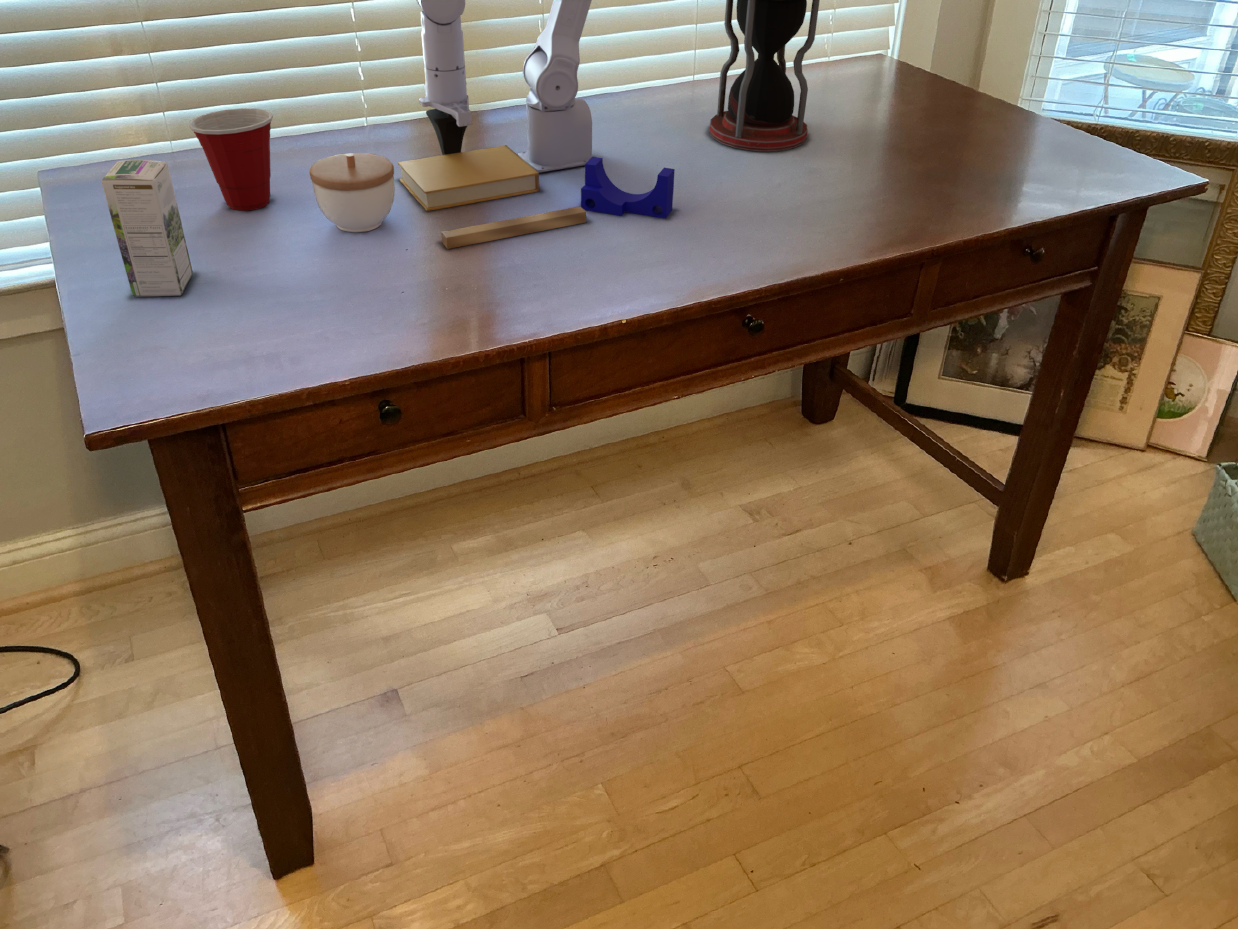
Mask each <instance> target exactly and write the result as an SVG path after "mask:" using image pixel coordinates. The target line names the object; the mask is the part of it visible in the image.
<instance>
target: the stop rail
mask: <svg viewBox="0 0 1238 929" xmlns="http://www.w3.org/2000/svg"><path fill="white" fill-rule="evenodd" d="M585 223H587V210H584V209H583V208H581V205H579V206H573V207H569V208H564V209H559V210H558V209H557V210H553V211H552V210H551V211H547V212H541V213H537V214H536V213H535V214H531V215H526V216H520V217H515V218H509V219H504V220H498V221H493V222H487V223H481V224H477V225H471V226H465V227H460V228H455V229H454V228H453V229H450V230H444V231H441V242H442V244H443V246H445V249H447V250H450V249H455V248H460V247H465V246H470V245H476V244H482V243H486V242H492V241H496V240H503V239H507V238H512V237H518V236H522V235H523V236H524V235H527V234H528V235H529V234H532V233H538V232H543V231H548V230H553V229H560V228H564V227H569V226H574V225H581V224H585Z"/></svg>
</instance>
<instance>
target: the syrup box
mask: <svg viewBox="0 0 1238 929" xmlns="http://www.w3.org/2000/svg"><path fill="white" fill-rule="evenodd" d="M100 181H101V185H102V189H103V193H104V195H105V200H106V201H105V202H106V204H107V207H108V211H109V215H110V219H111V223H112V226H113V230H114V232H115V237H116V241H117V244H118V248H119V252H120V255H121V259H122V263H123V266H124V270H125V273H126V277H127V282H128V284H129V288H130V292H131V296H133V297H171V296H172V297H173V296H182V295H183V294H184V292H185V290H186V287H187V286H188V284H189V282H190V280H191V278H192V277H193V276H194V275H193V274H194V271H193V267H192V263H191V257H190V253H189V250H188V249H189V248H188V245H187V242H186V237H185V231H184V227H183V224H182V219H181V215H180V210H179V205H178V202H177V198H176V194H175V188H174V185H173V180H172V176H171V171H170V167H169V163H168V162H166V161H160V160H151V159H125V160H118V161H116V162H115V164H114V165H112V167H111V168H110V170H109V171H108V172H107V173H106V174H105V176H104V177H103V178H102V179H101V180H100Z"/></svg>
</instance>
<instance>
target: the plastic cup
mask: <svg viewBox="0 0 1238 929" xmlns="http://www.w3.org/2000/svg"><path fill="white" fill-rule="evenodd" d="M273 116H274V113H273V112H272V111H270V110H268V109H263V108H255V107H254V108H251V107H250V108H249V107H241V108H230V109H229V108H228V109H223V110H217V111H211V112H209V113H205V114H201V115H198V116H196V117H194V118H192V119H191V120H190V121H189V123H188V124H187V126H188V128H189V129H190V130H191V131H192V132H193V133H194V135H195V137H196V139H197V140H198V142H199V145H200V146H201V148H202V150H203V152H204V155H205V157H206V159H207V162H208V164H209V167H210V169H211V172H212V173H213V177H214V179H215V181H216V183H217V185H218V187H219V189H220V192H221V194H222V197H223V200H224V202H225V203H226V205H227V206H228V207H229V209H232V210H234V211H242V212H243V211H244V212H245V211H255V210H259V209H262V208H264V207H266V206H268V204H270V201H271V200H270V199H271V176H272V175H271V174H272V173H271V171H272V170H271V124H272V121H273Z"/></svg>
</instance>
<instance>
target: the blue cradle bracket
mask: <svg viewBox="0 0 1238 929" xmlns="http://www.w3.org/2000/svg"><path fill="white" fill-rule="evenodd" d="M655 182H656V183H655V185H654V187H653V188H652V189H650V190H649V191H647V192H643V193H630V192H627V191H624V190H622V189H621V188H619V187H618V186H616V185H615V183H614V182H612V181H611V179H610V178H609V176H608V175H607V172H606V170H605V167H604V160H603V157H598V156H592V158H590V159H589V160H588V161H587V162H586V163H585V165H584V185H583V186H582V187H581V188H580V207H581V208H583V209H584V210H585V211H589V212H596V213H602V214H607V215H613V216H619V217H622V216H623V215H624V214H625V213H630V214H636V215H640V216H641V215H642V216H647V217H654V218H659V219H667V218H668V217H669V215H670V214H671V213H672V211H673V206H674V205H673V204H674V203H673V202H674V188H675V187H674V186H675V185H674V184H675V168H670V167H663V168H662V169H661V170H660V172H659V173H658V174H657V176H656V181H655Z"/></svg>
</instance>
